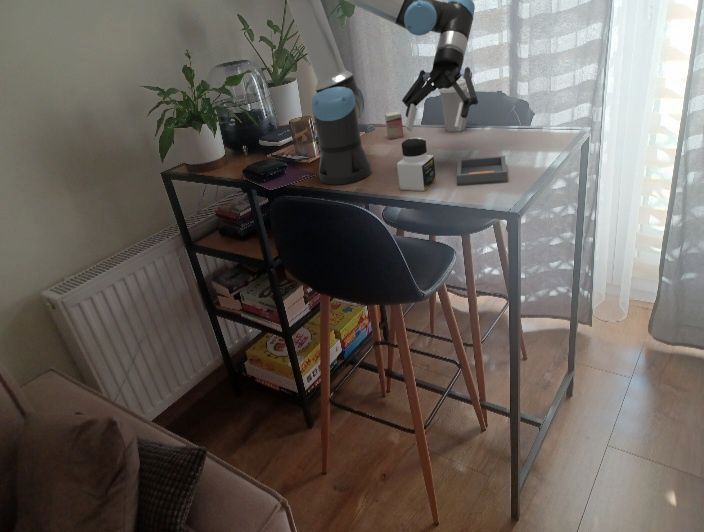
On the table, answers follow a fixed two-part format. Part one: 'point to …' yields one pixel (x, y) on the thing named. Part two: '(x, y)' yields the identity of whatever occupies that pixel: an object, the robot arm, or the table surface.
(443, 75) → the robot arm
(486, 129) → the table surface
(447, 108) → the coffee cup
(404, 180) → the medicine bottle
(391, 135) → the small box
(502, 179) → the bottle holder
